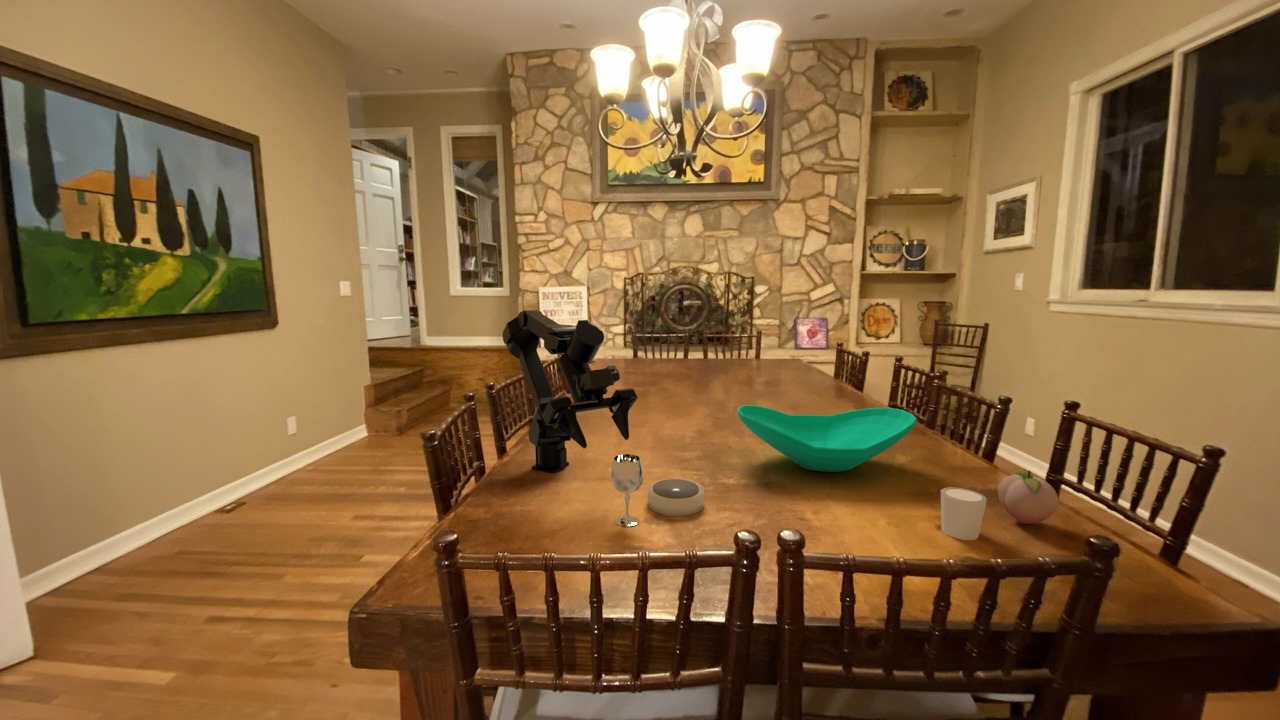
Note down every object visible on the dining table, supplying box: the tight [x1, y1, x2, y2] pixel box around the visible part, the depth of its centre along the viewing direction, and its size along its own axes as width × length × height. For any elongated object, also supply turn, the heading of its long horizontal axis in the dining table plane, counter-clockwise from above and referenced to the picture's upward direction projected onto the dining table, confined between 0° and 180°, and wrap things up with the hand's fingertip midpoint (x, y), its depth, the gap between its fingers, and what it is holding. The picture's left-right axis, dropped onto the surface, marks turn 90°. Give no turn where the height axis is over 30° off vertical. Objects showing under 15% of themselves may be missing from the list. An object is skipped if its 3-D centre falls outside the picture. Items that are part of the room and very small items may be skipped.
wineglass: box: [610, 453, 644, 528], centre depth 95 cm, size 6×6×12 cm
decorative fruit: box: [997, 470, 1059, 525], centre depth 95 cm, size 9×8×10 cm
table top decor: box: [737, 404, 918, 473], centre depth 123 cm, size 40×28×13 cm
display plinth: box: [647, 478, 705, 517], centre depth 103 cm, size 11×11×3 cm
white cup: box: [940, 486, 987, 541], centre depth 92 cm, size 7×7×7 cm
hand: (607, 443), depth 100 cm, fingers open, 9 cm apart
